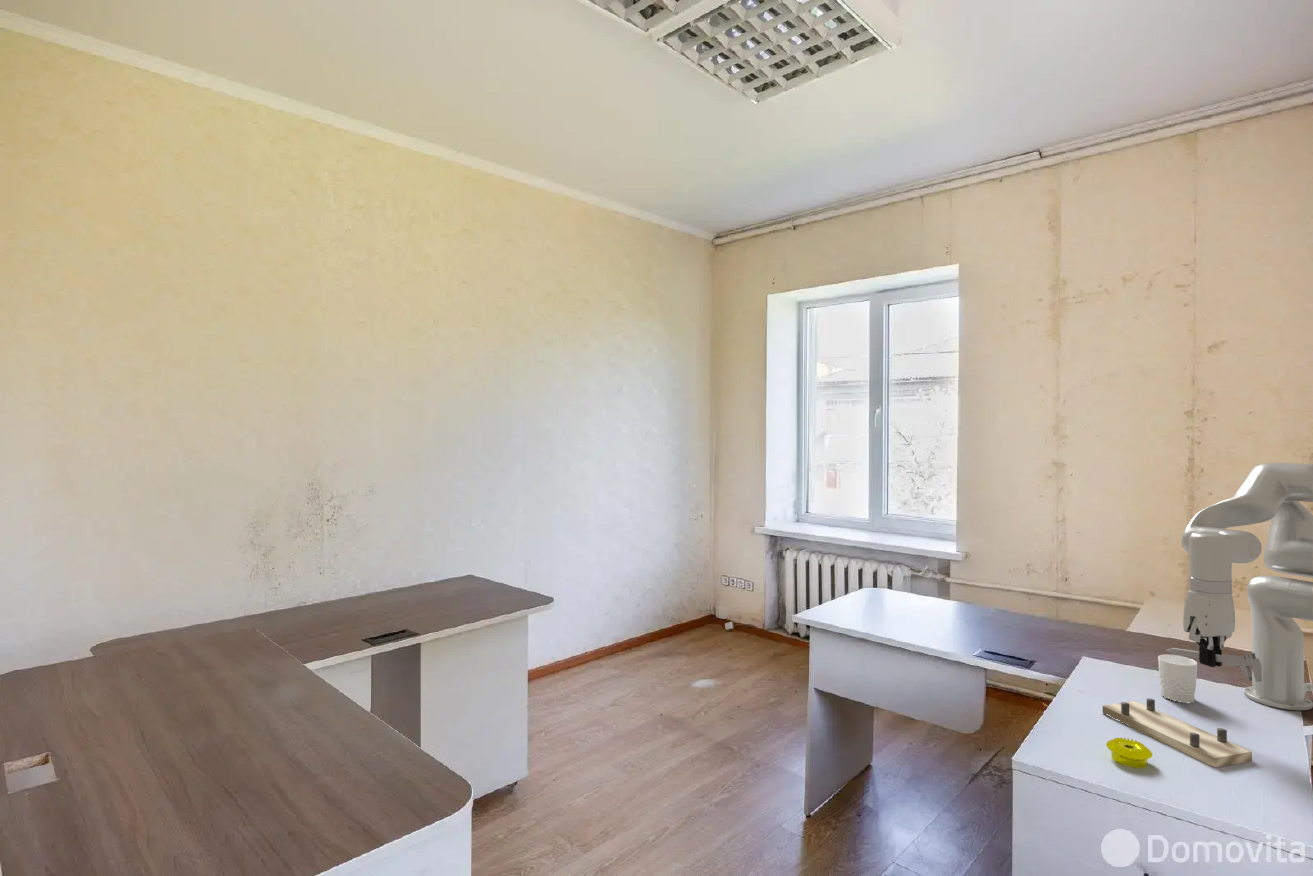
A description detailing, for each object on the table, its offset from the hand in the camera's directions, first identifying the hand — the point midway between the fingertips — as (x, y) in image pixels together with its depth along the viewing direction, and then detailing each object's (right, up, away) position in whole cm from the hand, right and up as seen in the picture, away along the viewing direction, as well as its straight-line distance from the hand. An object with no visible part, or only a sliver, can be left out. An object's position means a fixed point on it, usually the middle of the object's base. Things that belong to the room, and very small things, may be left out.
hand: (1210, 664), depth 150 cm
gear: (-28, -16, -12) cm, 35 cm away
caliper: (0, -1, 0) cm, 1 cm away
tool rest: (-11, -16, -2) cm, 19 cm away
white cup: (+6, -15, +17) cm, 23 cm away
